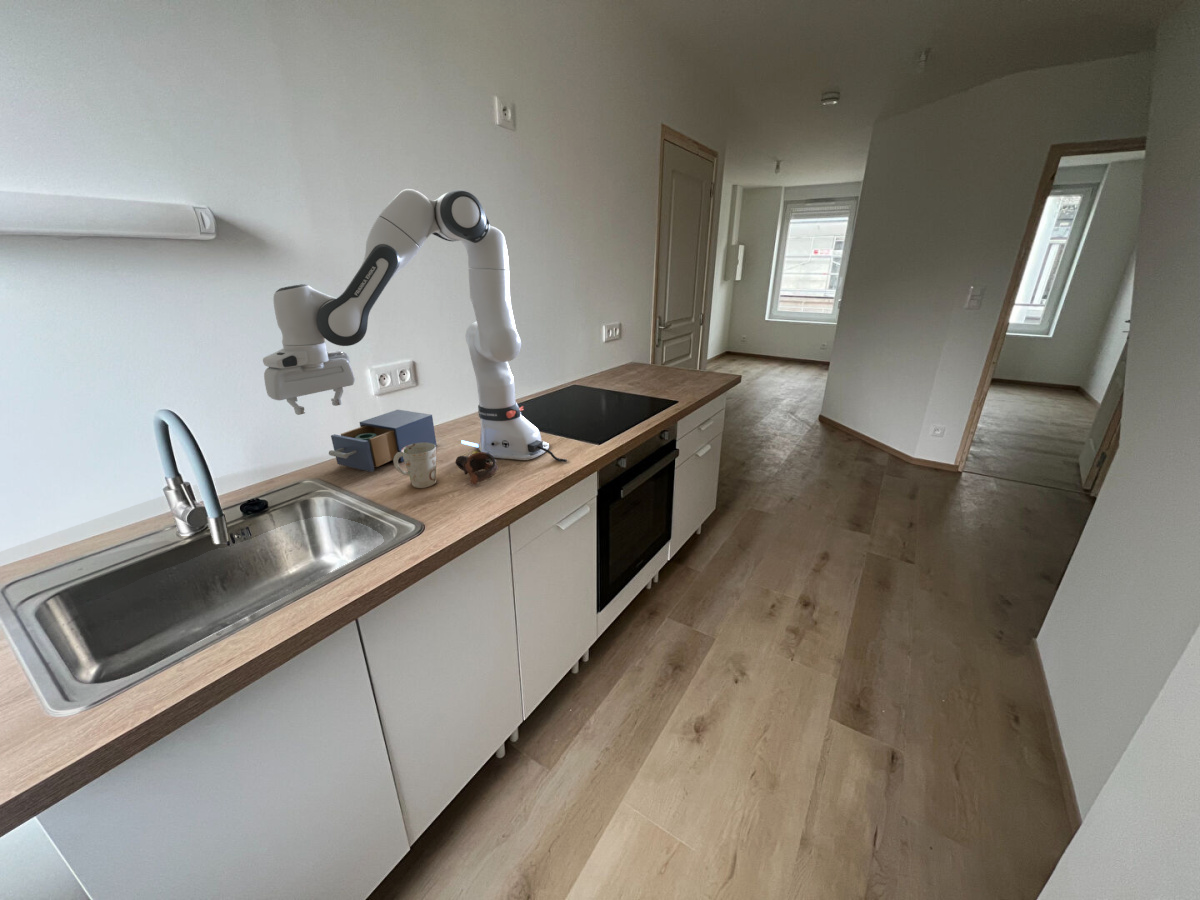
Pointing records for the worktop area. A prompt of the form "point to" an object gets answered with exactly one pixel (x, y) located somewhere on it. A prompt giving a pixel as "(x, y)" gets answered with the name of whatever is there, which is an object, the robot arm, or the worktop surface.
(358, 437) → the jar
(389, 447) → the drawer
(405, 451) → the mug
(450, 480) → the worktop surface
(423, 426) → the cabinet
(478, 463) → the pottery mug
